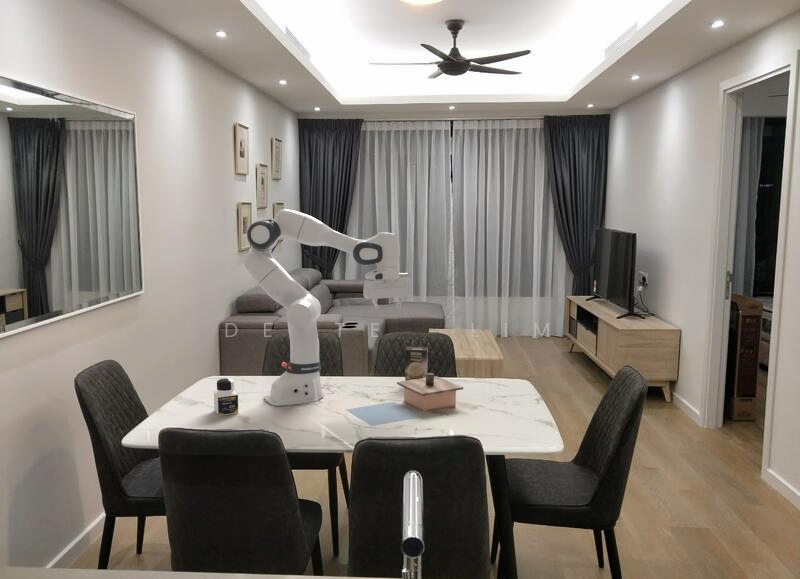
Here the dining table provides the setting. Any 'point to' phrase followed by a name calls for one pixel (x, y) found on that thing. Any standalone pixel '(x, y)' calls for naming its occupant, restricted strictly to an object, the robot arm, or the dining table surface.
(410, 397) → the terracotta open box
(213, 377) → the dining table surface
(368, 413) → the slate mat
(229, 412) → the medicine bottle
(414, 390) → the walnut lid
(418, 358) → the coffee box
